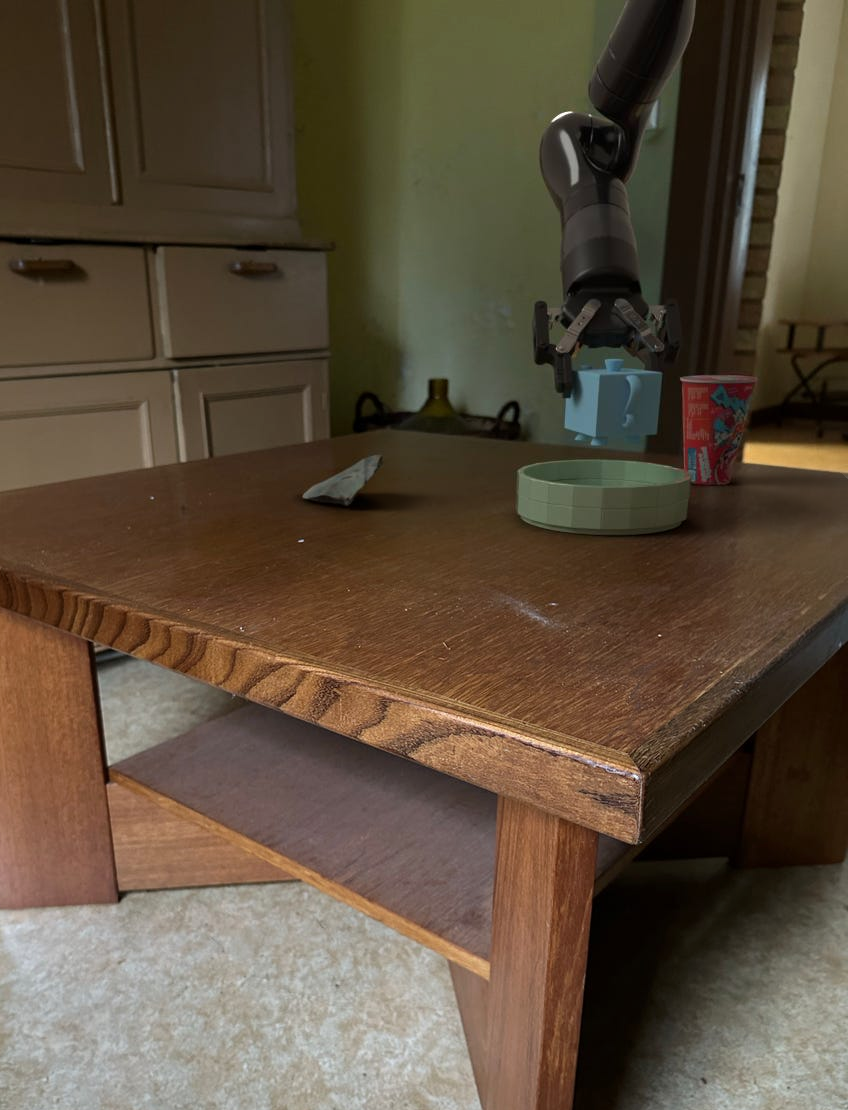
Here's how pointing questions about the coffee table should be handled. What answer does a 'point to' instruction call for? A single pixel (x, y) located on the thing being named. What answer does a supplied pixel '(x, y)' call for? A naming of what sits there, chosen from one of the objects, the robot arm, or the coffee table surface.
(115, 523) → the coffee table surface
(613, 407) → the teapot
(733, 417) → the cup
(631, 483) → the serving bowl
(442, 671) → the coffee table surface
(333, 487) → the stone
